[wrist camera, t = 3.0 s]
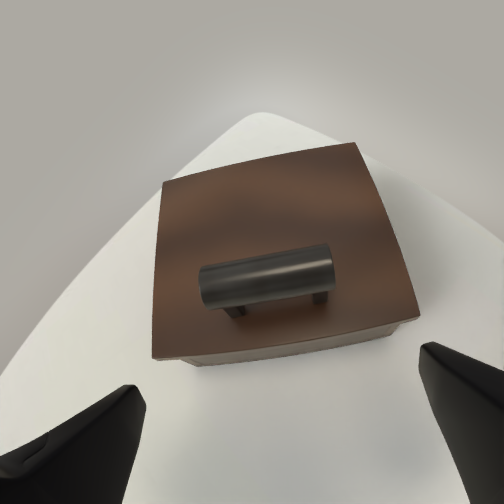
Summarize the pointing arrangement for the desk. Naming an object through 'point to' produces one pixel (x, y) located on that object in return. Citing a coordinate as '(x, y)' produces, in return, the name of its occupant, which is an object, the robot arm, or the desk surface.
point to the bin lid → (275, 256)
